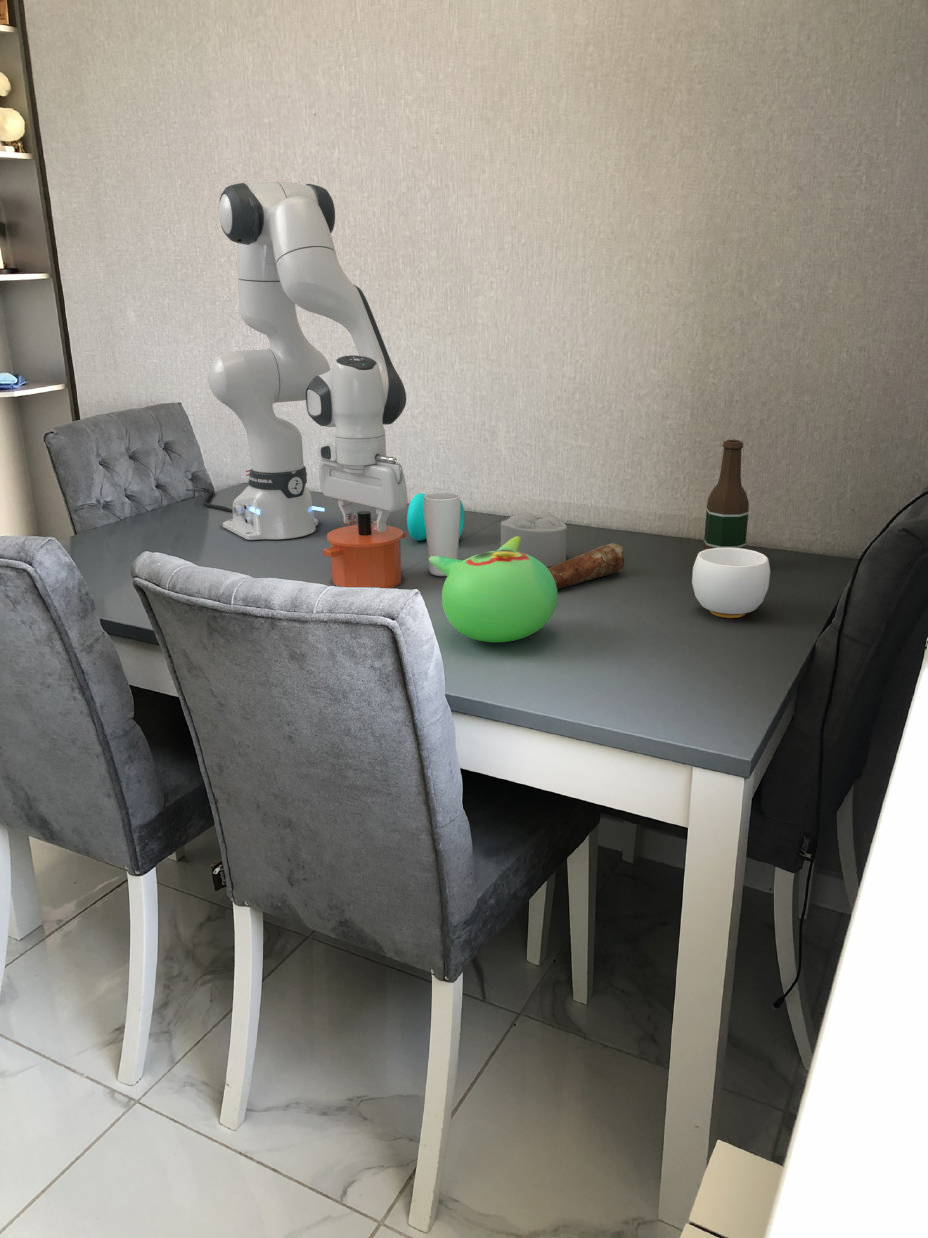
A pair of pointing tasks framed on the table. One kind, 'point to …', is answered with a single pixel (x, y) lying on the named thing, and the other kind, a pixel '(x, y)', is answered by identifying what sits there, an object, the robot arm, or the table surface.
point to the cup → (730, 580)
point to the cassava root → (589, 565)
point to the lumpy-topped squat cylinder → (537, 536)
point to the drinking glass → (442, 526)
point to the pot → (366, 565)
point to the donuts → (417, 518)
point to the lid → (364, 534)
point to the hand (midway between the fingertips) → (364, 527)
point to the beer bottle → (727, 503)
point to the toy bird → (497, 593)
